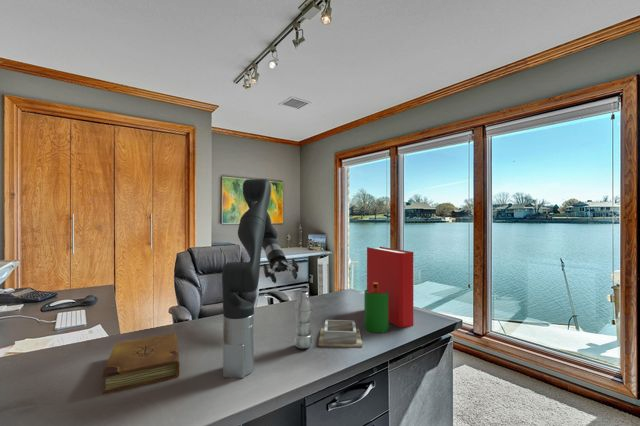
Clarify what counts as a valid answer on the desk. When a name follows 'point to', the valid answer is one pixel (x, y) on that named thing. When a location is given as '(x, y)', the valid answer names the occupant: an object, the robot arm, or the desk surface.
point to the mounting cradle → (340, 334)
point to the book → (393, 281)
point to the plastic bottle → (303, 321)
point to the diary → (142, 362)
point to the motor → (376, 310)
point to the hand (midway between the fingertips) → (285, 279)
